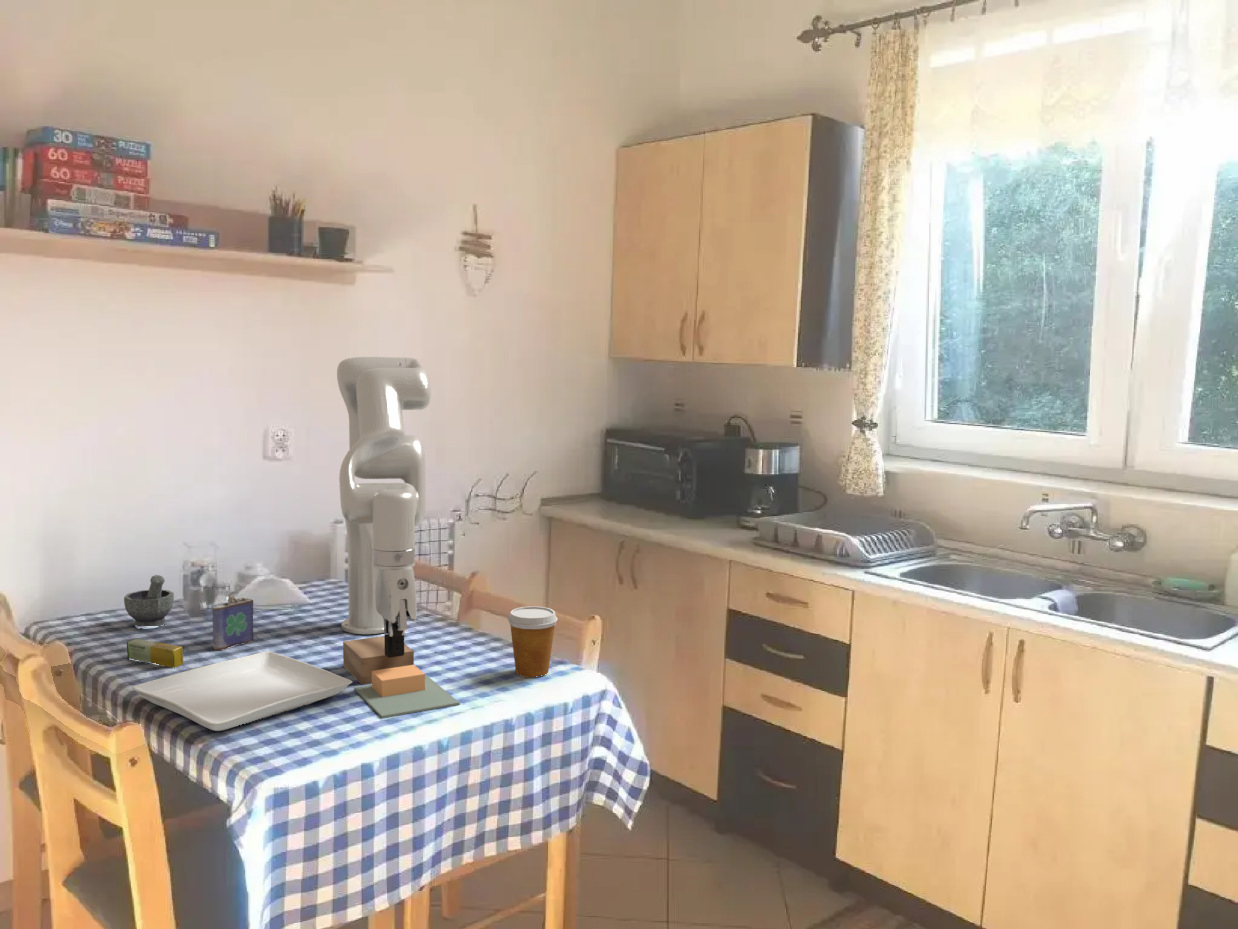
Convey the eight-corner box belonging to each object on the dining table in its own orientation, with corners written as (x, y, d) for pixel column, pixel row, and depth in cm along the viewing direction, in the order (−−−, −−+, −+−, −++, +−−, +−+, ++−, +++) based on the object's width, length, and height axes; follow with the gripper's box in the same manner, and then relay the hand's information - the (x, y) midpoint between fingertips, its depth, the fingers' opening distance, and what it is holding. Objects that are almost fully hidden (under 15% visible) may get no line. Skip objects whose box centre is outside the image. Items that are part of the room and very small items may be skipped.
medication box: (126, 661, 202) (125, 641, 202) (137, 657, 205) (136, 637, 204) (174, 670, 198) (173, 649, 197) (184, 665, 201) (183, 645, 200)
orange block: (425, 674, 187) (425, 690, 188) (413, 664, 193) (413, 680, 193) (382, 680, 183) (382, 697, 184) (371, 671, 188) (371, 687, 189)
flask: (217, 651, 209) (216, 599, 208) (209, 648, 211) (207, 597, 209) (256, 641, 217) (255, 591, 215) (247, 638, 218) (246, 589, 217)
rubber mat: (427, 678, 195) (427, 676, 195) (459, 704, 182) (459, 702, 182) (354, 689, 188) (354, 687, 188) (382, 718, 175) (382, 716, 175)
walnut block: (393, 659, 206) (393, 634, 206) (413, 676, 196) (413, 651, 196) (343, 666, 201) (343, 641, 201) (361, 684, 191) (361, 658, 190)
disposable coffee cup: (563, 667, 203) (564, 608, 202) (546, 683, 194) (547, 620, 193) (517, 662, 206) (518, 604, 204) (499, 677, 197) (500, 616, 195)
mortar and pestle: (119, 624, 226) (117, 571, 225) (162, 617, 233) (161, 564, 231) (139, 635, 218) (137, 580, 217) (183, 627, 225) (181, 573, 224)
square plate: (268, 667, 201) (268, 648, 200) (355, 700, 184) (355, 679, 183) (130, 704, 180) (129, 682, 180) (213, 745, 163) (212, 721, 163)
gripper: (428, 563, 183) (428, 664, 185) (400, 548, 196) (400, 642, 198) (386, 567, 179) (387, 670, 181) (361, 551, 192) (362, 647, 194)
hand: (394, 655), depth 190 cm, fingers closed
